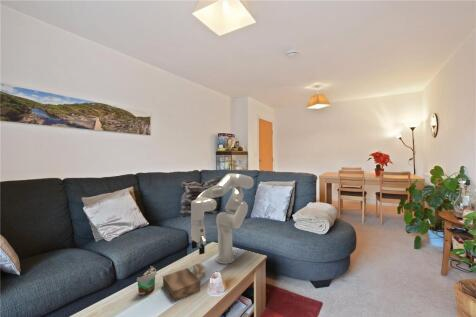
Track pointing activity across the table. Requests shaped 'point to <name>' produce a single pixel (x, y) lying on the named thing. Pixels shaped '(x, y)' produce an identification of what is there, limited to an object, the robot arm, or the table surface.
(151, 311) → the table surface
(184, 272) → the walnut box
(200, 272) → the birch block
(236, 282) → the table surface
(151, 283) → the food container
